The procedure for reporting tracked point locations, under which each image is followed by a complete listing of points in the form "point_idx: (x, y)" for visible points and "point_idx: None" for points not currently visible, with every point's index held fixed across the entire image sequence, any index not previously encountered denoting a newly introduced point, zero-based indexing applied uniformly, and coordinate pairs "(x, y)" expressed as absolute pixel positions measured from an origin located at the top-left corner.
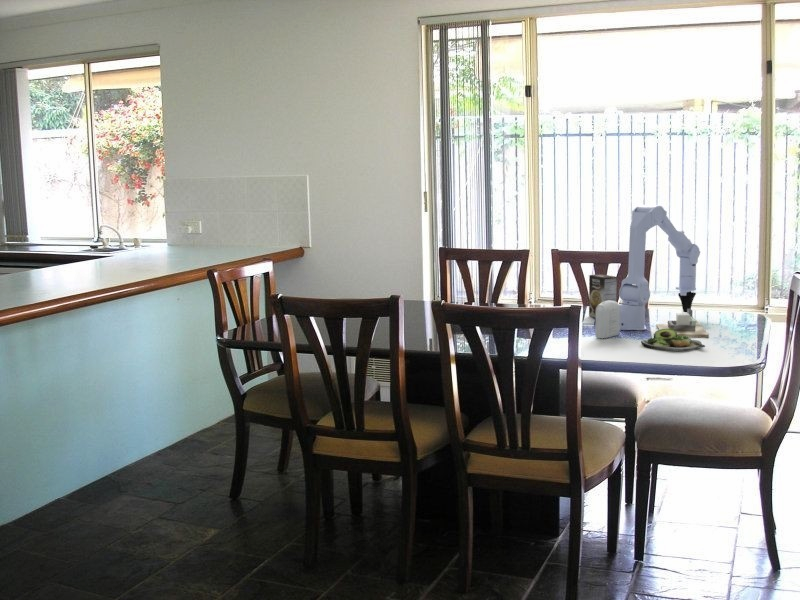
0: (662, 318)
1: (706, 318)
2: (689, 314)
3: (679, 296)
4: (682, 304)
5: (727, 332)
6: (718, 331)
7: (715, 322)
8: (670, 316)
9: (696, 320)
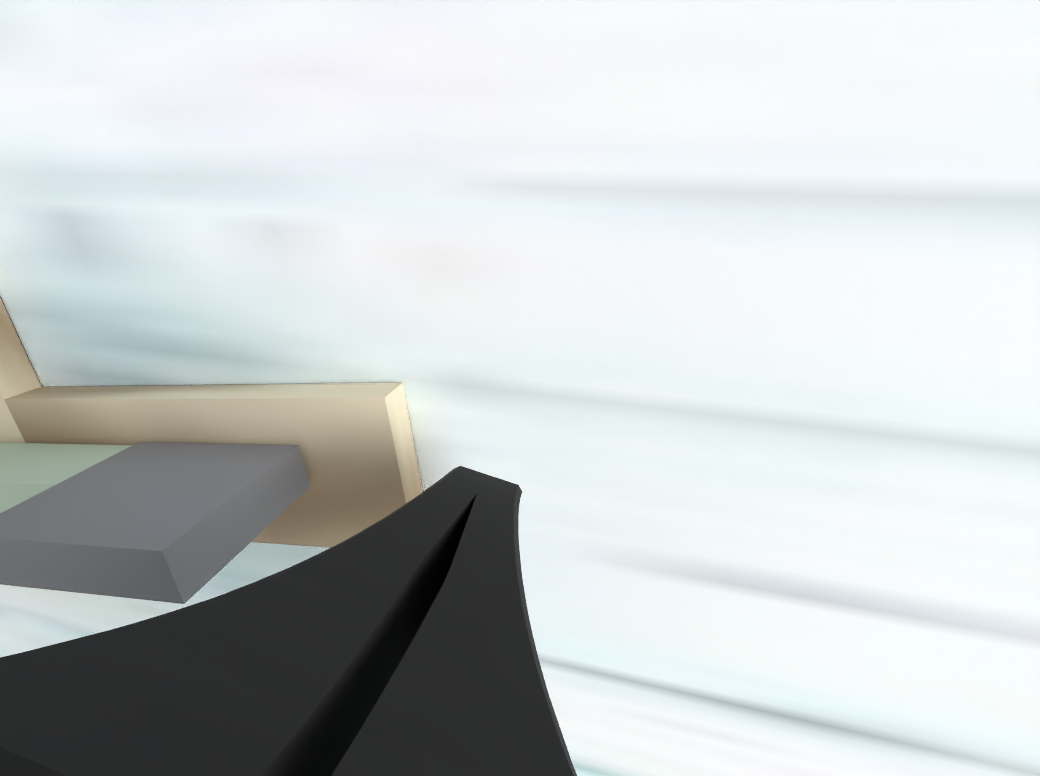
0: (615, 48)
1: (647, 679)
2: (38, 502)
3: (15, 670)
4: (352, 543)
5: (9, 649)
6: (9, 605)
7: None
8: (856, 224)
9: (285, 540)
